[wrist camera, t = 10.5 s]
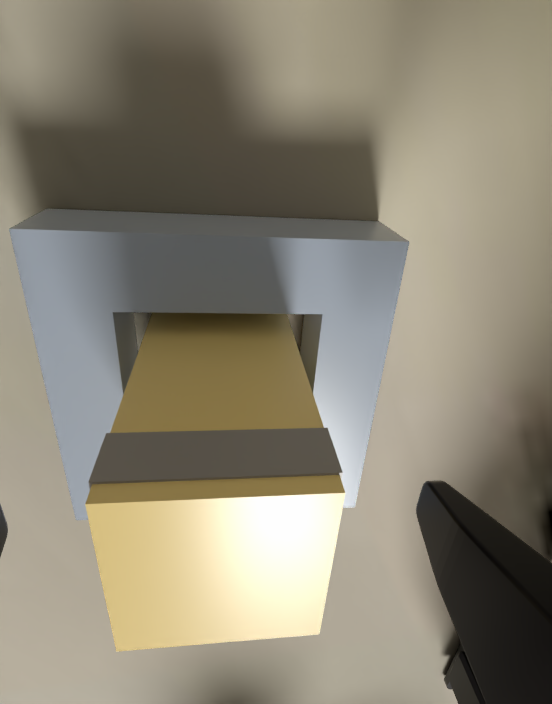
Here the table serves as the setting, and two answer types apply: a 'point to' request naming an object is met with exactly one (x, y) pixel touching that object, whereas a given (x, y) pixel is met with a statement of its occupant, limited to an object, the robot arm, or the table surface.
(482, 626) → the robot arm
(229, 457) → the plug
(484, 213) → the table surface
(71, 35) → the table surface
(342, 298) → the socket
